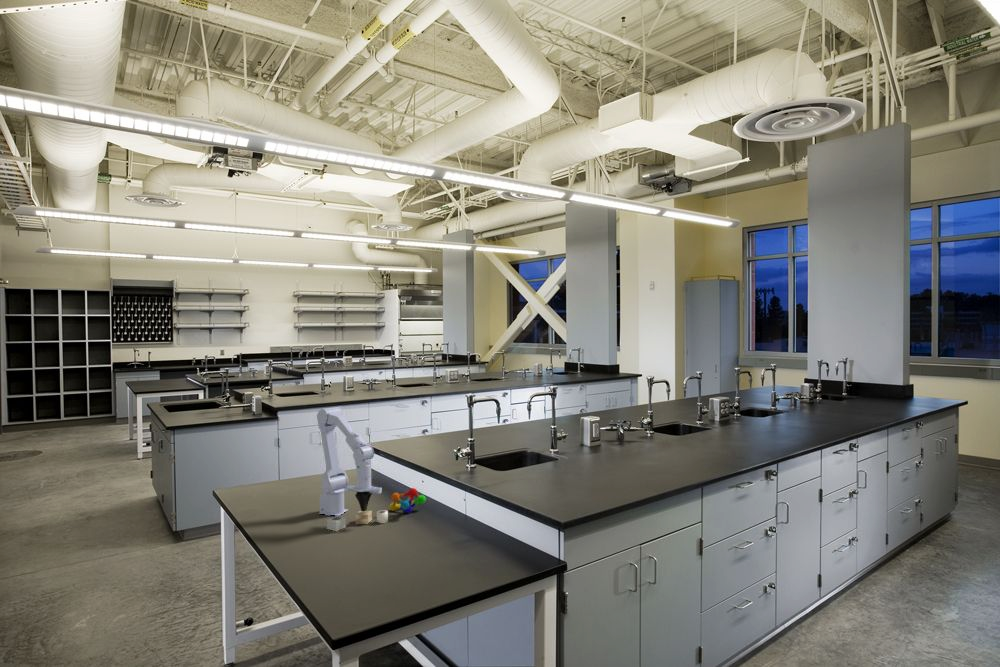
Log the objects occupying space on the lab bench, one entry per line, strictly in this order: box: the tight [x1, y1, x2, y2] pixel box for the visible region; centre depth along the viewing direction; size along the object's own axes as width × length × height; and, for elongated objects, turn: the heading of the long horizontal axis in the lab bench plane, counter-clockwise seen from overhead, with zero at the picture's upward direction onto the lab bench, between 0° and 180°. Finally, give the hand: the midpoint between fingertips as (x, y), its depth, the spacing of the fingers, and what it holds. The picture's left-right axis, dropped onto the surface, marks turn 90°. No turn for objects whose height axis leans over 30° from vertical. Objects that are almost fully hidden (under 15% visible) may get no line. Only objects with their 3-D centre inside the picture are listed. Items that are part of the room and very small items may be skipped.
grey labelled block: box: [326, 516, 347, 532], centre depth 213 cm, size 5×5×4 cm
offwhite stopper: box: [376, 509, 389, 524], centre depth 220 cm, size 4×4×4 cm
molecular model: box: [389, 487, 427, 514], centre depth 233 cm, size 15×10×15 cm
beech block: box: [355, 510, 373, 525], centre depth 220 cm, size 5×5×4 cm
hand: (363, 510), depth 220 cm, fingers closed
